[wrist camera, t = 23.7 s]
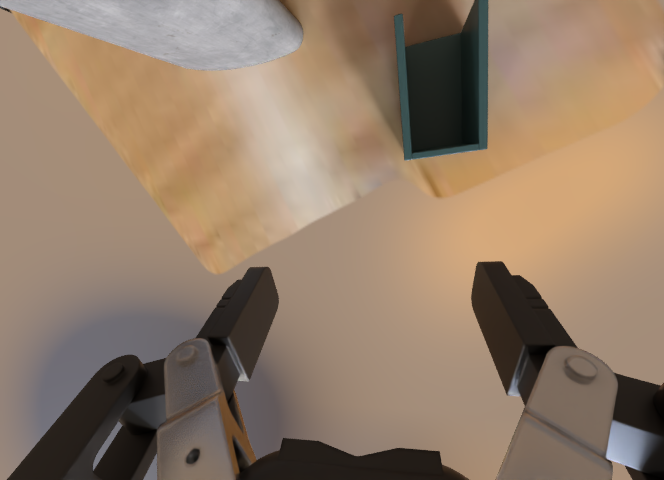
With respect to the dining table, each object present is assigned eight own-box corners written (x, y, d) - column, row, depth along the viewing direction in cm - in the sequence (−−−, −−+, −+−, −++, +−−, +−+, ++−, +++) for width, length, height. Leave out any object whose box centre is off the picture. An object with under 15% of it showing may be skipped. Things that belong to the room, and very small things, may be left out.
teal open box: (468, 147, 28) (487, 149, 21) (406, 156, 30) (404, 160, 23) (467, 32, 26) (488, -13, 18) (399, 50, 27) (393, 15, 20)
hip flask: (301, 14, 29) (102, -218, 10) (305, 60, 30) (133, -73, 11) (173, 39, 33) (-130, -94, 14) (181, 78, 34) (-89, 2, 16)
